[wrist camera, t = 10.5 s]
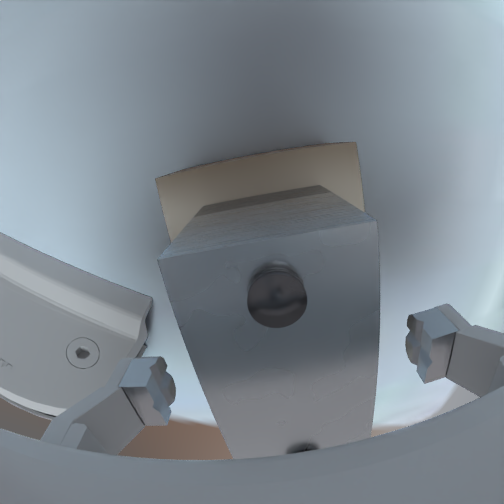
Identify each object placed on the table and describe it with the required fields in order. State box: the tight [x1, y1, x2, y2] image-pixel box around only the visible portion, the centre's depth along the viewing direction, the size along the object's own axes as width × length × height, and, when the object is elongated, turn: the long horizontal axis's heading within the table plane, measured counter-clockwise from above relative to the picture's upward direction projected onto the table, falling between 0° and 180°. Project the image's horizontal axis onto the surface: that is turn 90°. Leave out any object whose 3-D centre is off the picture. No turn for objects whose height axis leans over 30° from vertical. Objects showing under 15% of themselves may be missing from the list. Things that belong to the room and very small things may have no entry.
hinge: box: [0, 233, 152, 420], centre depth 16 cm, size 17×5×10 cm, turn 70°
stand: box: [155, 142, 365, 243], centre depth 16 cm, size 12×8×5 cm, turn 11°
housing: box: [157, 185, 380, 459], centre depth 10 cm, size 9×5×6 cm, turn 11°
